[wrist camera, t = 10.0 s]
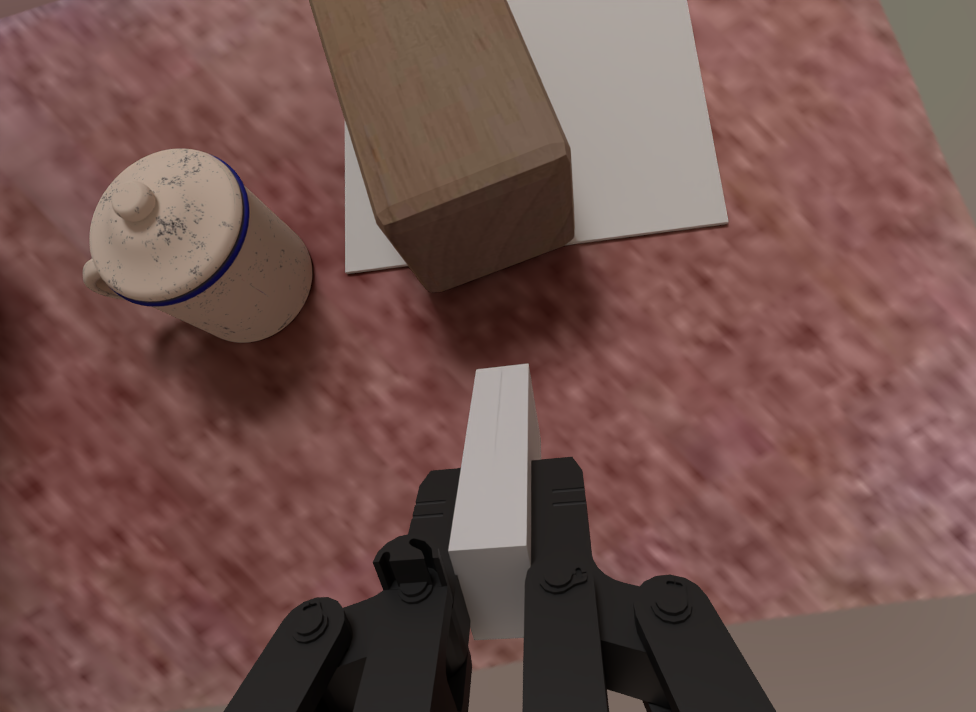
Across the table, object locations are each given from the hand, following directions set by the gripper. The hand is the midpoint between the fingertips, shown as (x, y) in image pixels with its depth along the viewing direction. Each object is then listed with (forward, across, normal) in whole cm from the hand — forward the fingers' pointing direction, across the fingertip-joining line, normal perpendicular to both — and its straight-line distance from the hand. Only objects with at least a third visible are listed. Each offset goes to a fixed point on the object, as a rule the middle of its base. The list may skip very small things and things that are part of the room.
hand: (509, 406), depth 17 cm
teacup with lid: (+22, -20, -3) cm, 30 cm away
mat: (+29, 0, +4) cm, 29 cm away
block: (+17, -2, -1) cm, 17 cm away
